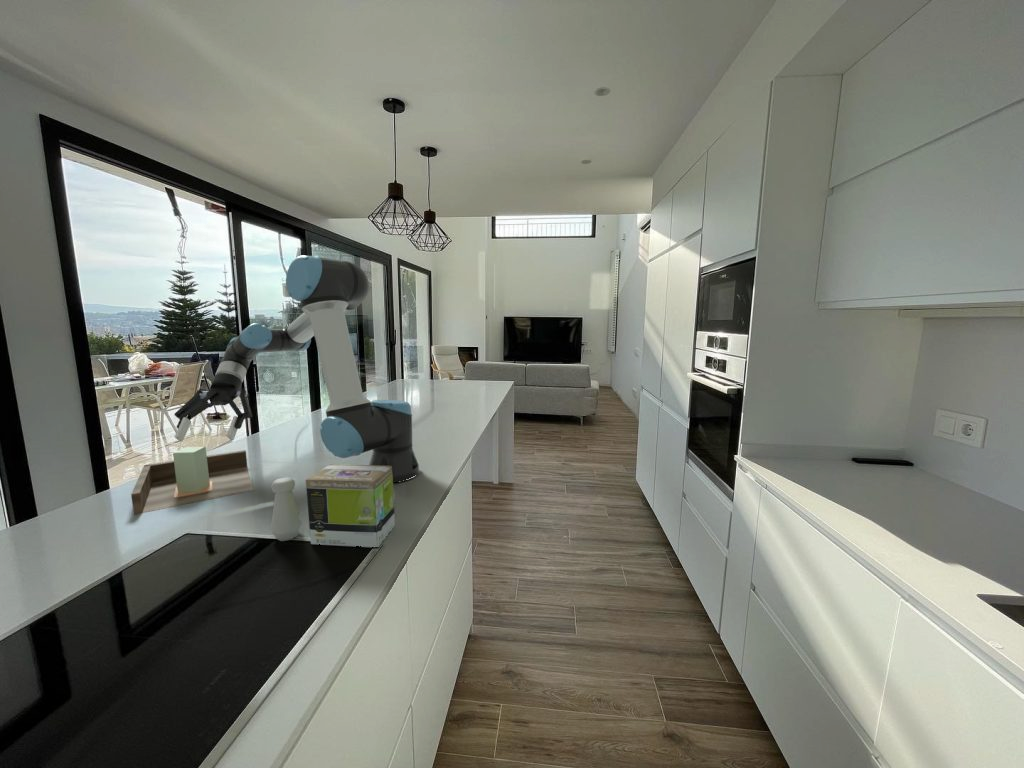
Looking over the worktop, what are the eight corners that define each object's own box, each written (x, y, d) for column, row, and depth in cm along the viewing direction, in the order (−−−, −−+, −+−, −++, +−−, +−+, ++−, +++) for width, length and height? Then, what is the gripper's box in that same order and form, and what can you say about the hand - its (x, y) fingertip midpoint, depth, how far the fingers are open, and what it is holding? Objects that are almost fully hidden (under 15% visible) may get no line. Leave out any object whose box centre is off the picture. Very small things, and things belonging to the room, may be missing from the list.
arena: (253, 493, 110) (251, 472, 110) (134, 518, 96) (131, 494, 96) (247, 468, 130) (245, 450, 129) (146, 485, 116) (144, 465, 115)
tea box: (396, 526, 94) (393, 464, 92) (377, 550, 84) (374, 481, 82) (334, 522, 95) (330, 461, 93) (308, 545, 85) (303, 478, 83)
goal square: (212, 490, 110) (212, 490, 110) (173, 498, 105) (173, 497, 105) (212, 481, 116) (212, 480, 116) (175, 488, 112) (175, 487, 111)
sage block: (209, 484, 113) (205, 446, 112) (198, 492, 109) (193, 452, 107) (190, 485, 113) (185, 447, 111) (177, 492, 108) (172, 452, 106)
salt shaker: (281, 546, 85) (276, 487, 83) (266, 538, 88) (261, 481, 86) (307, 534, 90) (303, 478, 88) (293, 527, 93) (288, 472, 91)
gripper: (275, 385, 133) (256, 443, 120) (192, 386, 130) (164, 446, 118) (266, 371, 127) (245, 430, 114) (179, 372, 124) (148, 433, 112)
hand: (204, 438), depth 116 cm, fingers open, 13 cm apart
